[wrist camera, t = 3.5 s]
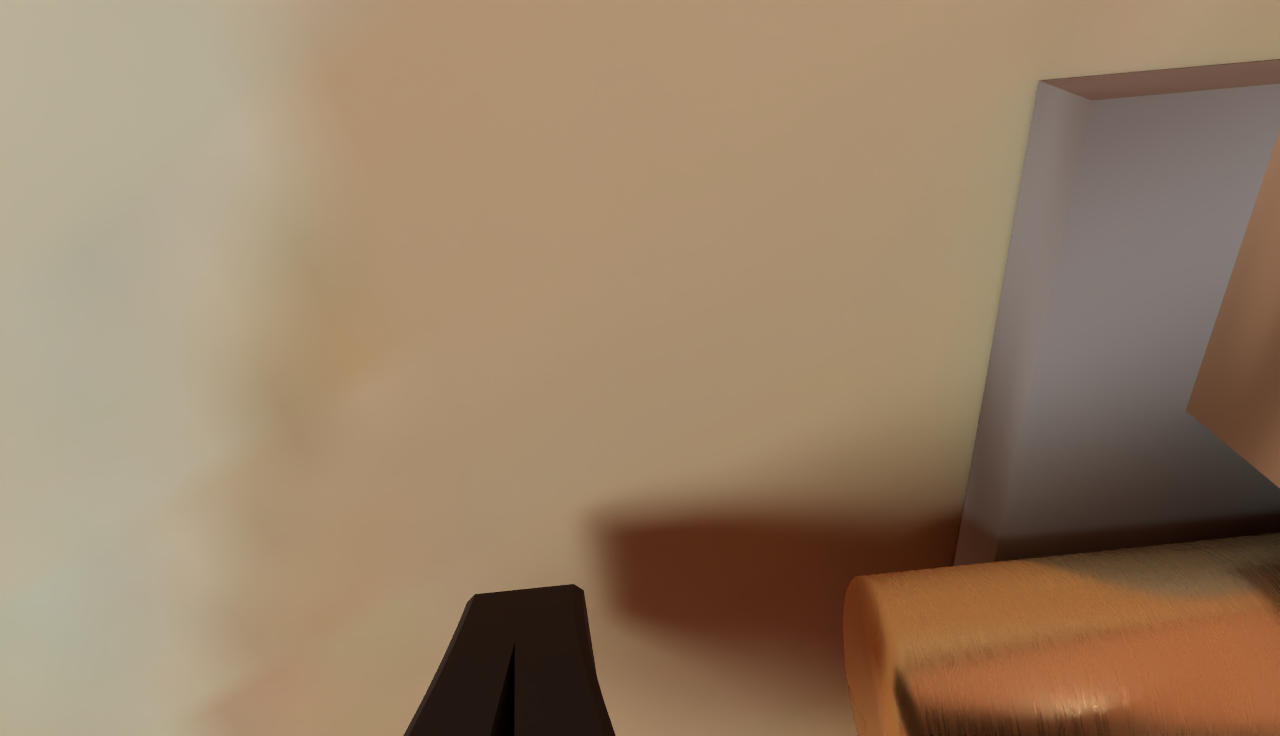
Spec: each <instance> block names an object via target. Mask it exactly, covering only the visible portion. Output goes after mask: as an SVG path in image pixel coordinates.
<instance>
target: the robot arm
mask: <svg viewBox="0 0 1280 736" xmlns="http://www.w3.org/2000/svg"><path fill="white" fill-rule="evenodd" d="M404 736H615V733H614V730H613V727H612V724H611V721H610V718H609V715H608V712H607V709H606V706H605V703H604V700H603V696H602V693H601V690H600V686H599V683H598V679H597V675H596V669H595V662H594V656H593V649H592V642H591V636H590V629H589V623H588V616H587V609H586V603H585V596H584V590H582V589H581V588H579V587H577V586H576V585H574V584H570V585H561V586H551V587H541V588H532V589H522V590H512V591H503V592H493V593H483V594H475V595H474V596H473V597H472V598H471V599H470V600H469V601H468V602H467V604H466V607H465V609H464V612H463V614H462V617H461V619H460V621H459V624H458V626H457V628H456V631H455V633H454V635H453V637H452V640H451V642H450V644H449V646H448V648H447V651H446V653H445V655H444V657H443V659H442V661H441V663H440V666H439V668H438V670H437V672H436V674H435V676H434V678H433V680H432V682H431V684H430V686H429V688H428V690H427V692H426V694H425V696H424V698H423V700H422V702H421V704H420V706H419V708H418V709H417V711H416V713H415V715H414V717H413V719H412V721H411V723H410V724H409V726H408V728H407V730H406V732H405V734H404Z"/></svg>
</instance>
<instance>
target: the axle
mask: <svg viewBox="0 0 1280 736" xmlns="http://www.w3.org/2000/svg"><path fill="white" fill-rule="evenodd" d="M843 643H844V656H845V666H846V674H847V681H848V688H849V694H850V700H851V705H852V710H853V715H854V720H855V724H856V729H857V733H858V736H1280V533H1270V534H1260V535H1251V536H1241V537H1231V538H1222V539H1212V540H1202V541H1193V542H1183V543H1173V544H1164V545H1154V546H1144V547H1135V548H1125V549H1115V550H1106V551H1096V552H1086V553H1077V554H1067V555H1057V556H1048V557H1038V558H1028V559H1018V560H1009V561H999V562H989V563H980V564H970V565H960V566H951V567H941V568H931V569H922V570H912V571H902V572H893V573H883V574H873V575H864V576H856V577H854V578H853V579H852V580H851V582H850V583H849V585H848V588H847V591H846V595H845V601H844V611H843Z"/></svg>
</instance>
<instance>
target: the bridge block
mask: <svg viewBox="0 0 1280 736" xmlns="http://www.w3.org/2000/svg"><path fill="white" fill-rule="evenodd" d="M1270 533H1280V59H1278V60H1267V61H1255V62H1244V63H1233V64H1222V65H1211V66H1199V67H1188V68H1177V69H1166V70H1154V71H1143V72H1132V73H1121V74H1109V75H1098V76H1087V77H1076V78H1064V79H1053V80H1042V81H1039V83H1038V89H1037V94H1036V100H1035V106H1034V111H1033V117H1032V123H1031V128H1030V134H1029V140H1028V145H1027V151H1026V157H1025V162H1024V168H1023V174H1022V179H1021V185H1020V191H1019V196H1018V202H1017V208H1016V213H1015V219H1014V225H1013V230H1012V236H1011V242H1010V247H1009V253H1008V259H1007V264H1006V270H1005V276H1004V281H1003V287H1002V293H1001V298H1000V304H999V310H998V315H997V321H996V327H995V332H994V338H993V344H992V349H991V355H990V361H989V366H988V372H987V378H986V383H985V389H984V395H983V400H982V406H981V412H980V417H979V423H978V429H977V434H976V440H975V446H974V451H973V457H972V463H971V468H970V474H969V480H968V485H967V491H966V497H965V502H964V508H963V514H962V519H961V525H960V531H959V536H958V542H957V548H956V553H955V559H954V565H953V566H960V565H970V564H980V563H989V562H999V561H1009V560H1018V559H1028V558H1038V557H1048V556H1057V555H1067V554H1077V553H1086V552H1096V551H1106V550H1115V549H1125V548H1135V547H1144V546H1154V545H1164V544H1173V543H1183V542H1193V541H1202V540H1212V539H1222V538H1231V537H1241V536H1251V535H1260V534H1270Z"/></svg>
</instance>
